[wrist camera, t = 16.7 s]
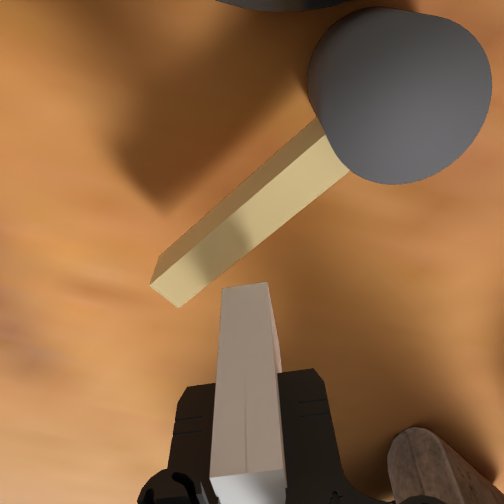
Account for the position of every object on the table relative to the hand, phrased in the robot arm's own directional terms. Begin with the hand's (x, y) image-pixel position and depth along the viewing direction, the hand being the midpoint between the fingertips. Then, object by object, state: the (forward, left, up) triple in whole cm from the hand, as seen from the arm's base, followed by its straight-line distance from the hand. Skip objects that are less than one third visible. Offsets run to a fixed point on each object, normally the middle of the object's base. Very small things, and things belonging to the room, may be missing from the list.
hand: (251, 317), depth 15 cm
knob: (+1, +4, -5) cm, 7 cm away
